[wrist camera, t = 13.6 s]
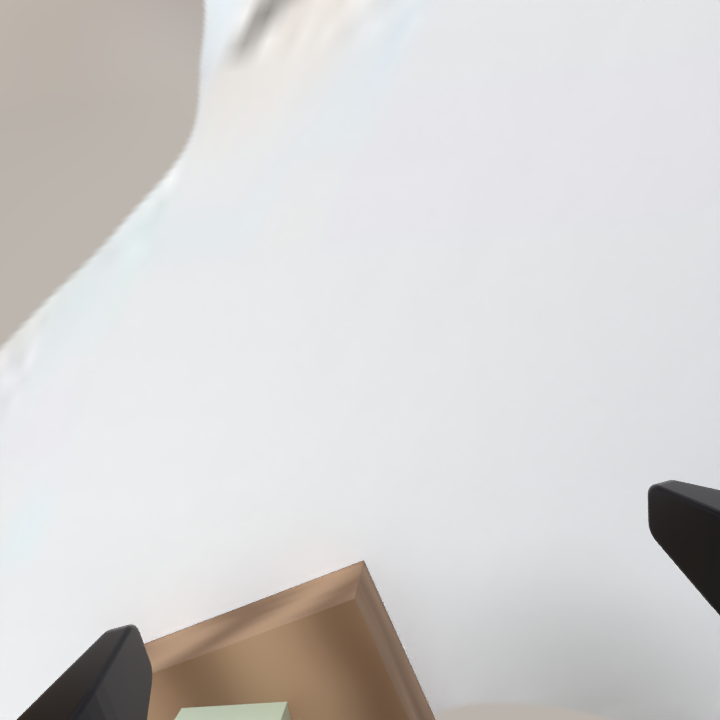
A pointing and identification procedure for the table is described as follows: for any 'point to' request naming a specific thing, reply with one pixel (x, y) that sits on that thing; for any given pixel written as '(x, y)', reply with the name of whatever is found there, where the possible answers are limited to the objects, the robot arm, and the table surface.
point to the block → (237, 712)
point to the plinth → (293, 656)
